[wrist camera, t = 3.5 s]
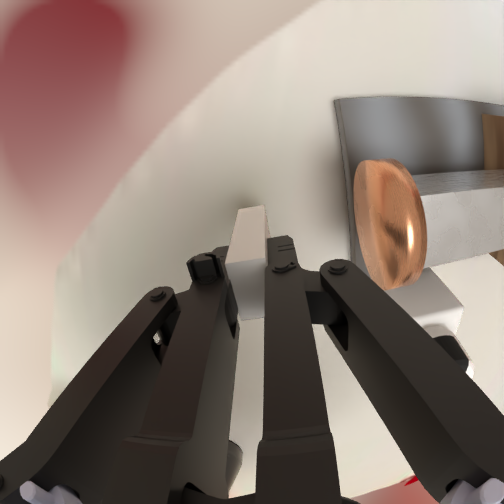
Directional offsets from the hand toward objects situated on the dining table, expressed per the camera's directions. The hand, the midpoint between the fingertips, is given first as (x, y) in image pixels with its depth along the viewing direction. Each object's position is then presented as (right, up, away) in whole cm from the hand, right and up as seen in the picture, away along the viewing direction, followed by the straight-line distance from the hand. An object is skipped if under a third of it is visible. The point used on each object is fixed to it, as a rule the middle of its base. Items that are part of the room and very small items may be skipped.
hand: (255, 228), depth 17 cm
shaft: (+15, +3, 0) cm, 15 cm away
